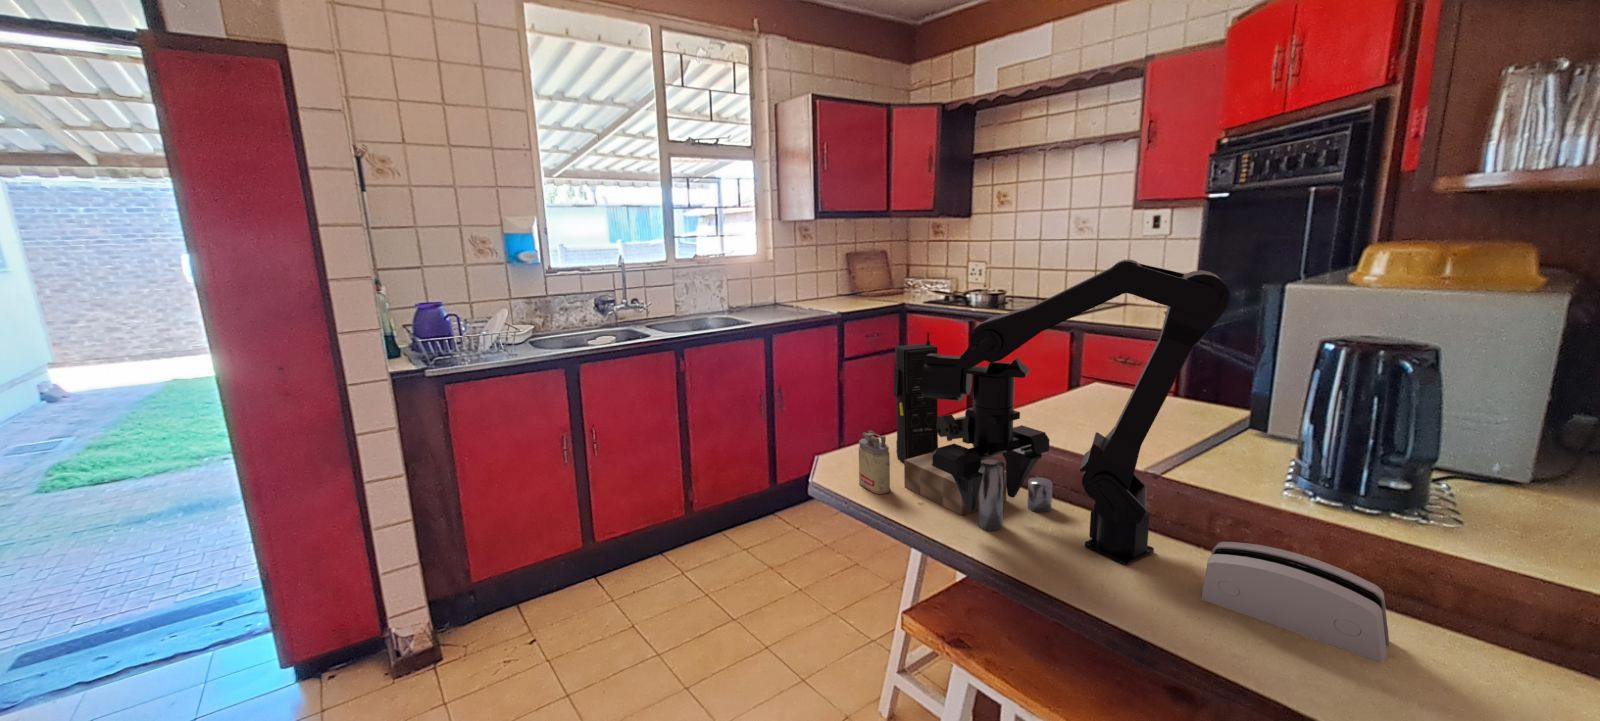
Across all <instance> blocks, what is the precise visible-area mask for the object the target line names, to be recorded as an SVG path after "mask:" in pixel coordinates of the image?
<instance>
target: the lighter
mask: <svg viewBox="0 0 1600 721" xmlns="http://www.w3.org/2000/svg"><path fill="white" fill-rule="evenodd" d="M861 436H862V437H863V438H861V439H860V440H859V441H858V445H859V446H858V479H859V480H858V484H859V485H860V486H862V487H863V488H865V489H867V490H868V491H870V492H872V493H874V494H877V495H879V494H881V495H882V494H887V493H889V492H890V491H891V478H890V477H891V474H890V473H891V472H890V470H891V469H890V468H891V467H890V463H891V462H890V458H891V457H890V455H891V454H890V451H889V450H890V449H889V448H890V447H889V446H888V444H886V441H887V440H886V439H887V438H886V435H879V434H877V433H875V432H874V431H873V430H868V431H867V432H862V435H861Z"/></svg>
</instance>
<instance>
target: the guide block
mask: <svg viewBox="0 0 1600 721" xmlns="http://www.w3.org/2000/svg"><path fill="white" fill-rule="evenodd" d="M903 469H904V472H903V473H904V476H903V477H904V480H903V481H904V488H907V489H909V490H910V491H912V492H914V493H916V494H918V495H920V496H922V497H924V498H926V499H928V500H930V501H932V502H934V503H936V504H937V505H940V506H942V507H944V508H946V509H948V510H950V511H952V512H954V513H955V514H958V515H960V516H964V515H967V514H970V513H971V512H970V511H968V510H967V509H966V507H965V504H964V502H963V499H962V496H961V494H960V491H959V488H958V486H957V484H956V482H955V480H954V478H953V476H952V475H951V474H949V473H947V472H945V471H942V470H940V469H938V468H936V467H933V452H932V453H928V454H924V455H920V456H917V457H913V458H909V459H906V460H904V468H903ZM978 472H979V471H978ZM1004 501H1007V482H1006V470H1004V492H1003V502H1004ZM976 511H978V498H977V502H976V505H975V508H974V511H973V512H976Z"/></svg>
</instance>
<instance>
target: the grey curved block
mask: <svg viewBox="0 0 1600 721" xmlns="http://www.w3.org/2000/svg"><path fill="white" fill-rule="evenodd" d="M1200 599H1201V600H1202V601H1204V602H1208V603H1210V604H1213V605H1215V606H1219V607H1222V608H1224V609H1228V610H1230V611H1234V612H1236V613H1239V614H1242V615H1245V616H1248V617H1251V618H1253V619H1256V620H1259V621H1262V622H1264V623H1268V624H1270V625H1274V626H1276V627H1279V628H1281V629H1285V630H1287V631H1290V632H1293V633H1296V634H1299V635H1300V636H1301V635H1302V636H1305V637H1307V638H1310V639H1313V640H1316V641H1319V642H1321V643H1324V644H1328V645H1330V646H1334V647H1336V648H1339V649H1341V650H1344V651H1347V652H1350V653H1354V654H1356V655H1359V656H1361V657H1363V658H1367V659H1370V660H1372V661H1376V662H1378V663H1381V664H1383V663H1384V662H1385V661H1386V659H1387V658H1388V651H1387V648H1389V647H1390V637H1389V636H1390V634H1389V628H1388V627H1389V626H1388V619H1387V609H1386V603H1385V592H1384V591H1383V590H1382V589H1381V588H1380V587H1379V586H1378V585H1376V584H1374V583H1373V582H1370V581H1369V580H1367V579H1364V578H1362V577H1361V576H1358V575H1356V574H1355V573H1351V572H1350V571H1347V570H1345V569H1342V568H1340V567H1337V566H1335V565H1333V564H1330V563H1327V562H1324V561H1321V560H1319V559H1316V558H1313V557H1310V556H1307V555H1304V554H1300V553H1297V552H1293V551H1291V550H1290V551H1289V550H1287V549H1286V550H1285V549H1281V548H1277V547H1271V546H1267V545H1263V544H1256V543H1248V542H1237V541H1236V542H1235V541H1220V542H1218V543H1217V544H1216V545H1215V546H1214V547H1213V548H1212V550H1211V555H1209V556H1208V559H1207V563H1206V568H1205V574H1204V580H1203V585H1202V590H1201V598H1200Z"/></svg>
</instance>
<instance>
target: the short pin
mask: <svg viewBox="0 0 1600 721" xmlns="http://www.w3.org/2000/svg"><path fill="white" fill-rule="evenodd" d="M1027 480H1028V481H1027V482H1028V483H1027V503H1026V504H1027V505H1026V506H1027V507H1026V508H1027V509H1028V510H1029V511H1031V512H1034V513H1039V514H1047V513H1050V512H1051V511H1052V505H1053V504H1052V503H1053V502H1052V501H1053V481H1052V480H1050V479H1048V478H1046V477H1040V476H1039V477H1038V476H1037V477H1030V478H1029V479H1027Z"/></svg>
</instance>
